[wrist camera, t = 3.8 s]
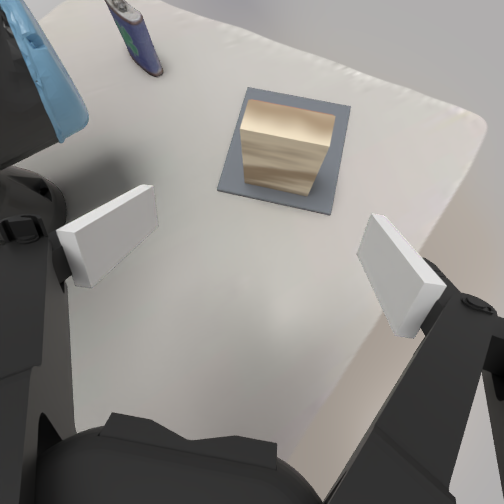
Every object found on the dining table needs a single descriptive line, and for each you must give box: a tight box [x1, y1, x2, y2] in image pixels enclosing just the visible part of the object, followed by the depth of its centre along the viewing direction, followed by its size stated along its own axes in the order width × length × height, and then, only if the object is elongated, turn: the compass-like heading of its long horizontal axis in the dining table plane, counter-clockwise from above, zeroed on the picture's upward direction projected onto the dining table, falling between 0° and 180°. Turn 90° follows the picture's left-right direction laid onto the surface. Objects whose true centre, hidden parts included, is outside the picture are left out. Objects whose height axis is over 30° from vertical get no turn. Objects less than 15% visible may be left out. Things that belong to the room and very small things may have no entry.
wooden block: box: [240, 99, 336, 196], centre depth 33 cm, size 4×10×12 cm, turn 76°
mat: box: [217, 87, 351, 215], centre depth 41 cm, size 20×18×1 cm
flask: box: [105, 0, 163, 77], centre depth 41 cm, size 9×3×11 cm, turn 41°
